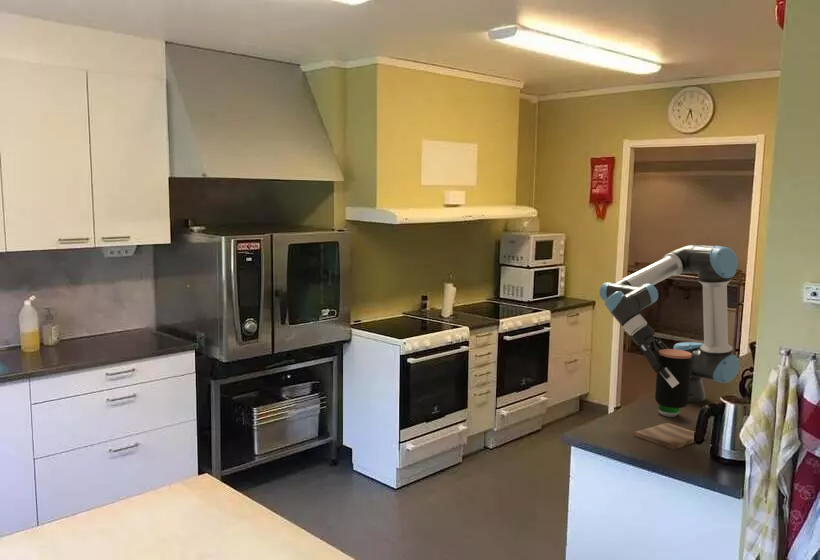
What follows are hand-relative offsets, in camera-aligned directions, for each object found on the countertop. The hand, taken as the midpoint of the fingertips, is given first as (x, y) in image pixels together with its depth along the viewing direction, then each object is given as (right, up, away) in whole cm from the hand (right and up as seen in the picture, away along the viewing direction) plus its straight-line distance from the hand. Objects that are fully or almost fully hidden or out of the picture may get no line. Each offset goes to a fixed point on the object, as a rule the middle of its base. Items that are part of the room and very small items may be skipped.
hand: (681, 382), depth 227 cm
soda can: (+7, -17, +30) cm, 35 cm away
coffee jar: (-2, -8, +3) cm, 9 cm away
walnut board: (-2, -20, +4) cm, 20 cm away
